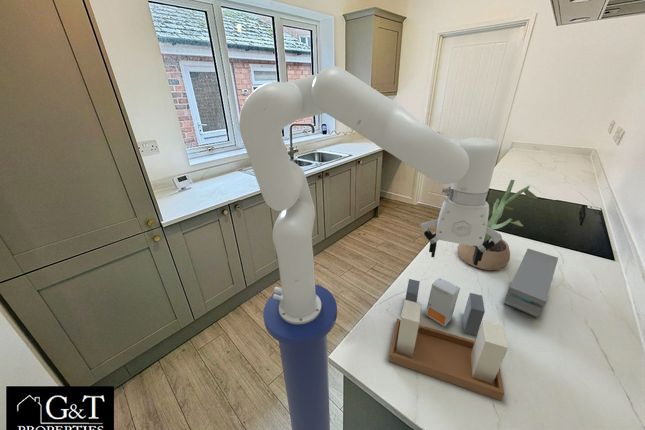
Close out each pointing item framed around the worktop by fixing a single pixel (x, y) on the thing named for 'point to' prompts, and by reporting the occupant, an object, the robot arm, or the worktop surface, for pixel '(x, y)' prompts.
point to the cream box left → (408, 327)
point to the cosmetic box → (442, 301)
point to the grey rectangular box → (532, 282)
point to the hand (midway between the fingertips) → (453, 258)
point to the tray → (444, 360)
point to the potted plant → (498, 253)
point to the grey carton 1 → (412, 290)
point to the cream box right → (488, 351)
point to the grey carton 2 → (473, 314)
